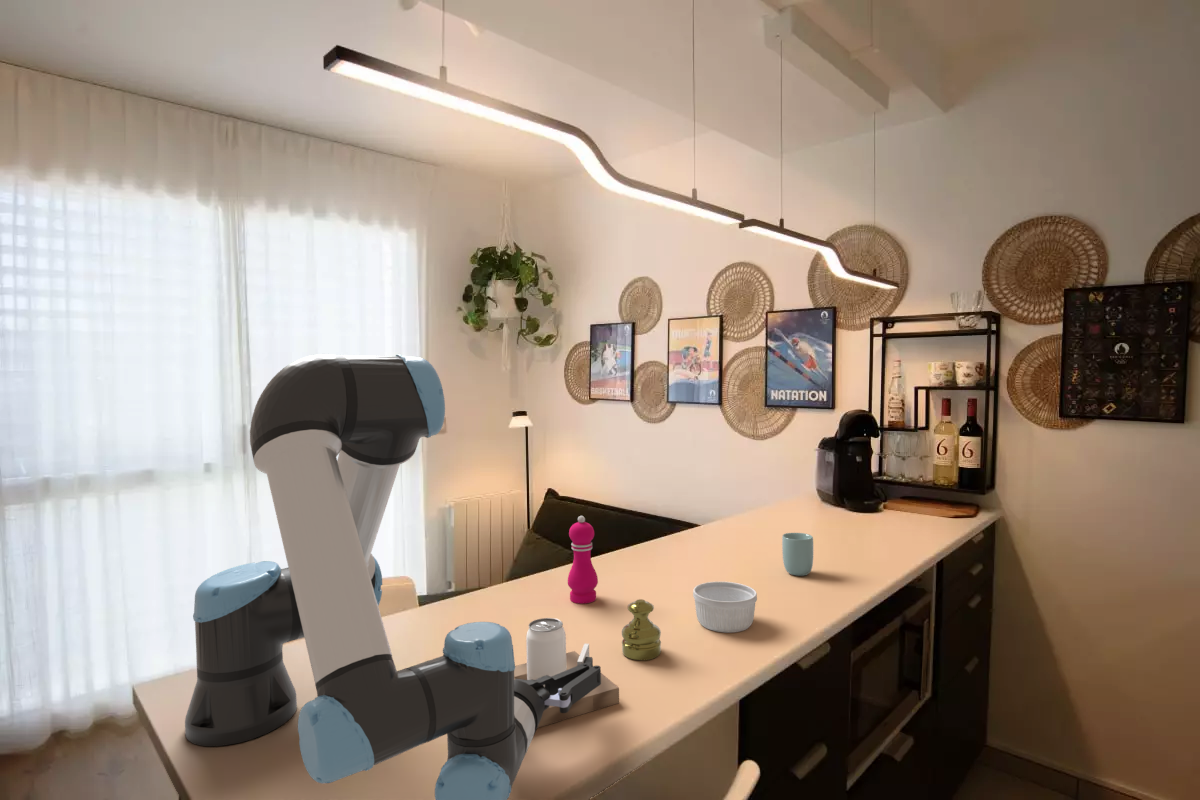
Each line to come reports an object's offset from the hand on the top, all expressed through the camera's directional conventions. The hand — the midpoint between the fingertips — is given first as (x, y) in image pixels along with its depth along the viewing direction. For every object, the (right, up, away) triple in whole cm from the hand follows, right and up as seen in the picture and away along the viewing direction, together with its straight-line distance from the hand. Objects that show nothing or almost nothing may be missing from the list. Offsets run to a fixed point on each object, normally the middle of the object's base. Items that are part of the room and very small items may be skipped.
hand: (545, 650), depth 101 cm
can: (0, -9, +2) cm, 9 cm away
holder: (0, -8, +2) cm, 9 cm away
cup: (+61, -6, +64) cm, 89 cm away
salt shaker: (+17, -8, +18) cm, 26 cm away
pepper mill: (+5, -7, +48) cm, 49 cm away
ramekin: (+35, -7, +32) cm, 48 cm away
